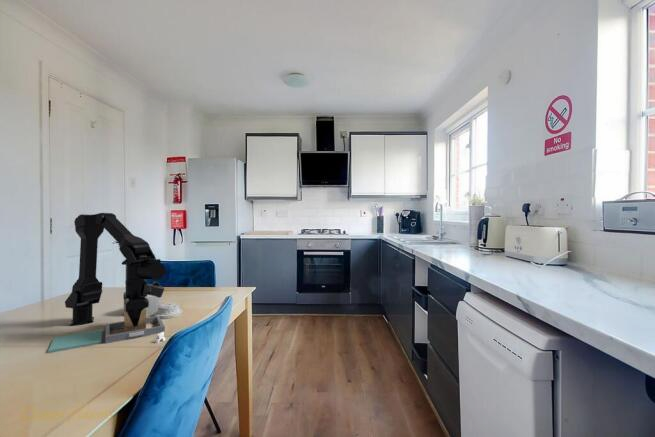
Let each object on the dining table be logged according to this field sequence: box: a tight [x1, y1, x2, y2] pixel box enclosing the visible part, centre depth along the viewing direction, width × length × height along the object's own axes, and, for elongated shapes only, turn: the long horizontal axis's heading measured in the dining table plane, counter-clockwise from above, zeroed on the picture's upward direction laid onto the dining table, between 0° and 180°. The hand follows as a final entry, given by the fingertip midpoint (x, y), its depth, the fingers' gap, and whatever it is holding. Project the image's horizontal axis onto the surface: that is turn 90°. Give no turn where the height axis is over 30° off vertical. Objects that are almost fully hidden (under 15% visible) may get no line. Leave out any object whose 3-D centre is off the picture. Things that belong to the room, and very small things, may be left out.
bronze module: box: [123, 308, 147, 333], centre depth 101 cm, size 4×6×8 cm
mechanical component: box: [153, 302, 183, 320], centre depth 119 cm, size 10×4×10 cm
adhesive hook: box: [153, 332, 166, 344], centre depth 93 cm, size 3×3×3 cm
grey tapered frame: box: [104, 316, 166, 344], centre depth 101 cm, size 15×16×2 cm
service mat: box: [47, 329, 103, 354], centre depth 92 cm, size 12×12×1 cm
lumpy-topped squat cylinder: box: [123, 294, 163, 316], centre depth 123 cm, size 10×13×9 cm
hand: (135, 324), depth 101 cm, fingers closed on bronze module, 4 cm apart
